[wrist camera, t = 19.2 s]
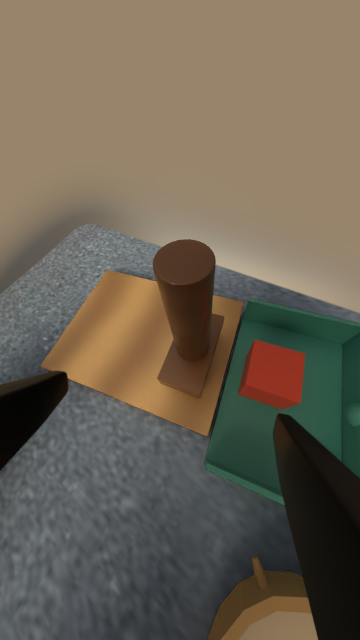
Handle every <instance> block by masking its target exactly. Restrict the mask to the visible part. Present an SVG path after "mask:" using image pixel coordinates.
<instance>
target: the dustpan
mask: <svg viewBox="0 0 360 640" xmlns="http://www.w3.org/2000/svg"><path fill="white" fill-rule="evenodd" d="M254 340H257V341H261V342H265V343H268V344H272V345H276V346H279V347H283V348H286V349H290V350H294V351H297V352H301V353H305V362H304V373H303V384H302V395H301V403H299V404H297V405H294V406H291V407H288V408H286V409H283V410H282V409H279V408H276V407H273V406H270V405H268V404H265V403H262V402H259V401H256V400H253V399H250V398H247V397H244V396H242V395H239V394H238V390H239V386H240V382H241V377H242V373H243V368H244V364H245V360H246V356H247V354H248V352H249V350H250V348H251V346H252V344H253V342H254ZM342 344H343V423H342ZM278 413H282V414H287V415H290V416H292V417H293V418H294V419H295V420H296V421H297V422H298V423H299V424H300V425H301V426H303V427H304V428H305V429H306V430H307V431H308V432H309V433H310V434H311V435H313V436H314V437H315V438H316V439H317V440H318V441H319V442H320V443H321V444H322V445H324V446H325V447H326V448H327V449H328V450H329V451H330V452H331V453H332V454H334V455H335V456H336V457H337V458H338V459H339V460H340V461H341V462H342V463H343V464H345V465H346V466H347V467H348V468H349V469H350V470H351V471H352V472H353V473H355V474H356V475H357V476H358V477H359V478H360V323H356V322H352V321H347V320H343V319H339V318H334V317H330V316H326V315H321V314H317V313H312V312H308V311H304V310H299V309H295V308H291V307H286V306H282V305H278V304H273V303H269V302H264V301H260V300H256V299H251V298H249V299H248V303H247V306H246V309H245V312H244V315H243V318H242V322H241V325H240V329H239V333H238V337H237V341H236V344H235V348H234V352H233V356H232V359H231V363H230V367H229V371H228V375H227V378H226V382H225V386H224V390H223V394H222V397H221V401H220V405H219V409H218V412H217V416H216V420H215V424H214V428H213V431H212V435H211V439H210V443H209V447H208V450H207V454H206V458H205V462H204V465H205V469H206V470H209V471H211V472H213V473H215V474H217V475H219V476H222V477H224V478H226V479H228V480H230V481H232V482H235V483H237V484H239V485H241V486H243V487H245V488H248V489H250V490H252V491H254V492H256V493H258V494H261V495H263V496H265V497H267V498H269V499H272V500H274V501H276V502H278V503H280V504H282V505H285V504H284V500H283V496H282V492H281V487H280V483H279V477H278V471H277V463H276V456H275V449H274V442H273V429H274V424H275V420H276V416H277V414H278Z"/></svg>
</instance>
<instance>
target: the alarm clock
mask: <svg viewBox="0 0 360 640" xmlns="http://www.w3.org/2000/svg"><path fill="white" fill-rule="evenodd" d="M252 562H253V568H254V573H255V575H253V576H251V577H249V578H247V579H244V580H242V581H240V582H239V583H238V584H237V585H236V587H235V588H234V589H233V590H232V592H231V593H230V594H229V595H228V596H227V598H226V599H225V600H224V601H223V602H222V604H221V605H220V607H219V610H218V612H217V615H216V617H215V620H214V623H213V625H212V628H211V630H210V633H209V635H208V638H207V640H318V637H317V633H316V629H315V625H314V621H313V617H312V613H311V609H310V605H309V601H308V597H307V593H306V589H305V585H304V581H303V577H302V576H299V575H297V574H295V573H293V572H291V571H264V570H263V567H262V565H261V563H260V561H259V559H258V556H255V557H252Z"/></svg>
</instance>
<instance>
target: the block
mask: <svg viewBox="0 0 360 640" xmlns="http://www.w3.org/2000/svg"><path fill="white" fill-rule="evenodd" d="M304 362H305V353H301V352H297V351H294V350H290V349H286V348H283V347H279V346H276V345H272V344H268V343H265V342H261V341H257V340H254V342H253V344H252V346H251V348H250V350H249V352H248V354H247V356H246V360H245V364H244V368H243V373H242V377H241V382H240V386H239V390H238V394H239V395H242V396H244V397H247V398H250V399H253V400H256V401H259V402H262V403H265V404H268V405H270V406H273V407H276V408H279V409H282V410H283V409H286V408H288V407H291V406H294V405H297V404H299V403H301V395H302V384H303V373H304Z"/></svg>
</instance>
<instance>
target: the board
mask: <svg viewBox="0 0 360 640" xmlns="http://www.w3.org/2000/svg"><path fill="white" fill-rule="evenodd" d="M243 304H244V302H241V301H237V300H233V299H228V298H224V297H220V296H216V295H213V304H212V313H213V314H217V315H221V316H224V323H223V327H222V331H221V334H220V337H219V340H218V343H217V347H216V350H215V353H214V356H213V359H212V362H211V366H210V369H209V372H208V375H207V378H206V382H205V385H204V388H203V391H202V394H201V398H197V397H194V396H192V395H189V394H186V393H184V392H181V391H178V390H176V389H173V388H170V387H168V386H165V385H163V384H161V383H160V382H159V381H158V379H157V377H158V375H159V372H160V370H161V368H162V365H163V363H164V361H165V358H166V356H167V353H168V351H169V349H170V346H171V344H172V342H173V339H174V338H173V335H172V331H171V328H170V325H169V321H168V318H167V314H166V311H165V308H164V304H163V301H162V297H161V294H160V291H159V287H158V284H157V282H156V281H152V280H148V279H144V278H139V277H135V276H131V275H127V274H122V273H118V272H114V271H110V270H107V271H106V272H105V274H104V275H103V277H102V278H101V279H100V281H99V282H98V284H97V285H96V287H95V288H94V289H93V291H92V292H91V294H90V295H89V297H88V298H87V299H86V301H85V302H84V304H83V305H82V307H81V308H80V310H79V311H78V312H77V314H76V315H75V317H74V318H73V320H72V321H71V322H70V324H69V325H68V327H67V328H66V330H65V331H64V332H63V334H62V335H61V337H60V338H59V340H58V341H57V342H56V344H55V345H54V347H53V348H52V350H51V351H50V352H49V354H48V355H47V357H46V358H45V360H44V361H43V362H42V364H41V365H40V367H42V368H44V369H46V370H49V371H51V372H52V371H57V370H58V371H64V372H66V373H67V377H68V379H70V380H73V381H75V382H77V383H80V384H82V385H85V386H87V387H89V388H92V389H94V390H96V391H99V392H101V393H104V394H106V395H108V396H111V397H113V398H116V399H118V400H120V401H123V402H125V403H128V404H130V405H132V406H135V407H137V408H140V409H142V410H144V411H147V412H149V413H151V414H154V415H156V416H159V417H161V418H163V419H166V420H168V421H171V422H173V423H175V424H178V425H180V426H183V427H185V428H187V429H190V430H192V431H195V432H197V433H199V434H202V435H204V436H206V437H208V434H209V430H210V426H211V423H212V419H213V415H214V412H215V408H216V404H217V400H218V397H219V393H220V389H221V386H222V382H223V378H224V375H225V371H226V367H227V364H228V360H229V356H230V352H231V349H232V345H233V341H234V338H235V334H236V330H237V327H238V323H239V319H240V316H241V312H242V308H243Z"/></svg>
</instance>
